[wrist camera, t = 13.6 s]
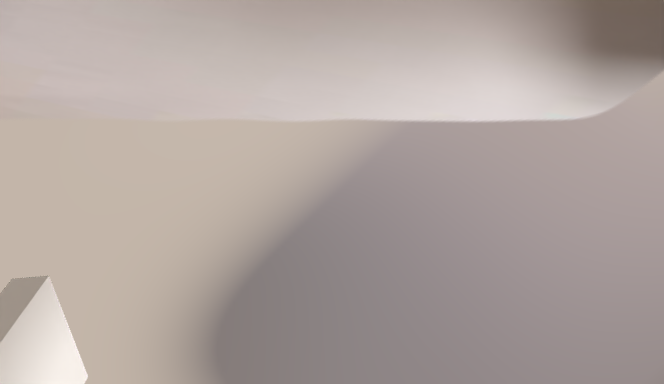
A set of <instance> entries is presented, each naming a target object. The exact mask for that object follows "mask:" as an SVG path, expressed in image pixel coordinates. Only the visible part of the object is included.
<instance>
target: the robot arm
mask: <svg viewBox="0 0 664 384" xmlns="http://www.w3.org/2000/svg"><path fill="white" fill-rule="evenodd" d="M87 378H88V375H87V373H86V370H85V368H84V365H83V362H82V360H81V357H80V355H79V352H78V350H77V347H76V344H75V342H74V339H73V337H72V334H71V332H70V329H69V327H68V324H67V321H66V319H65V316H64V314H63V311H62V308H61V306H60V304H59V301H58V298H57V296H56V293H55V290H54V288H53V286H52V283H51V280H50V278H49V276H40V277H29V278H17V279H12V280H11V281H10V282H9V283H8V285H7V286H6V287H5V288H4V289H3V291H2V292H1V293H0V384H85V381H86V379H87Z"/></svg>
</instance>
